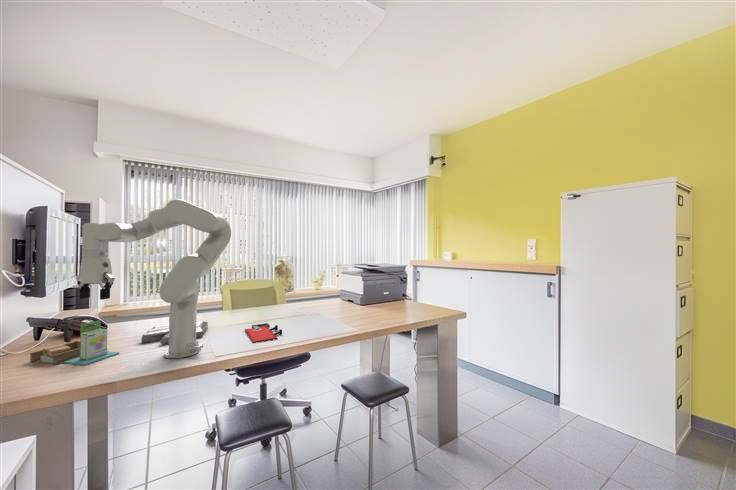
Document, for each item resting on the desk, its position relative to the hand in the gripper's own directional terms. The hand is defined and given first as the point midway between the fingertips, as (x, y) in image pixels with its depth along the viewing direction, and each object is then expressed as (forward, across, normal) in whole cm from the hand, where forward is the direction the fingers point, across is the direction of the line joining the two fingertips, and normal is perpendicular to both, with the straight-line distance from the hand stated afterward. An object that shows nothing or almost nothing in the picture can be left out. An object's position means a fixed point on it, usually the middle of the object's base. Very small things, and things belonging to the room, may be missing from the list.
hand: (94, 298), depth 113 cm
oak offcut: (+21, +12, +4) cm, 25 cm away
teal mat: (+23, 0, 0) cm, 23 cm away
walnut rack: (+23, +12, +1) cm, 26 cm away
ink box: (+23, 0, 0) cm, 23 cm away
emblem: (+24, -7, -32) cm, 40 cm away
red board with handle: (+24, -45, -45) cm, 68 cm away
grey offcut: (+24, +12, +4) cm, 27 cm away
